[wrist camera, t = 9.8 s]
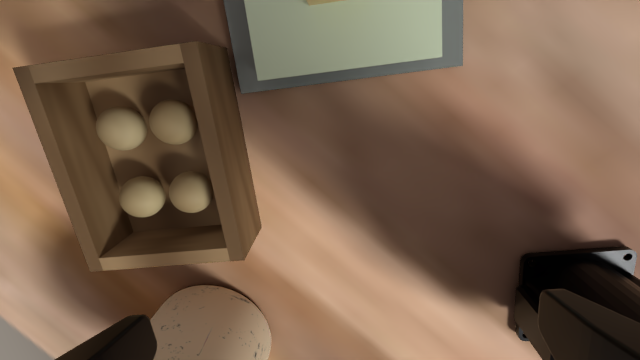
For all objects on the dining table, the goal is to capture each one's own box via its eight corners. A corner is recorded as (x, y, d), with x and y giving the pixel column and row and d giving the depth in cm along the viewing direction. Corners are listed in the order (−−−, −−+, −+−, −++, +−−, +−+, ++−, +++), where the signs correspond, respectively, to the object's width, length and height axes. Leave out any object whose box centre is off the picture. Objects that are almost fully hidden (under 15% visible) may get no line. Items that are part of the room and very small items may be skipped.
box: (226, 48, 18) (196, 41, 14) (261, 227, 21) (244, 260, 18) (78, 69, 19) (12, 67, 15) (133, 238, 22) (90, 271, 19)
